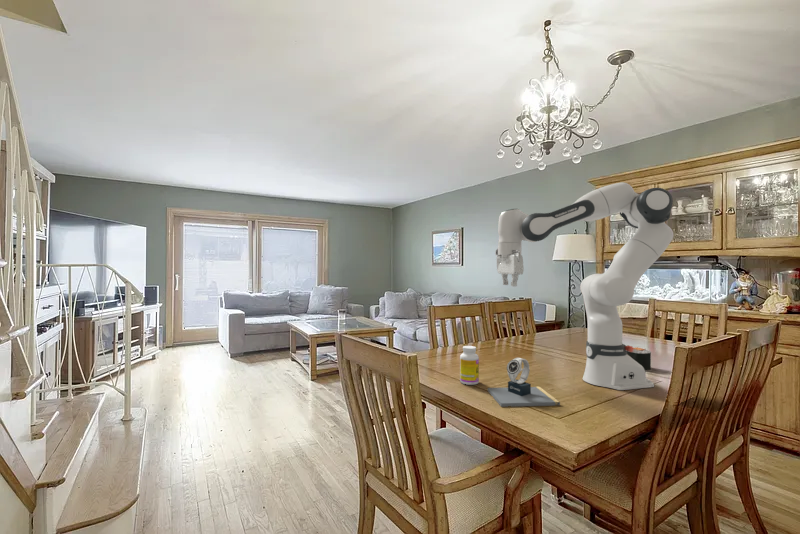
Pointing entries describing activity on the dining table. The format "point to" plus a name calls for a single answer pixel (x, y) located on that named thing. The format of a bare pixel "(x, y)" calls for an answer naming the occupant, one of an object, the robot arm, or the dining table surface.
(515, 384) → the watch
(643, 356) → the sushi
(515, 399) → the grey flat slab
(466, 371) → the supplement bottle
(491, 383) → the dining table surface
